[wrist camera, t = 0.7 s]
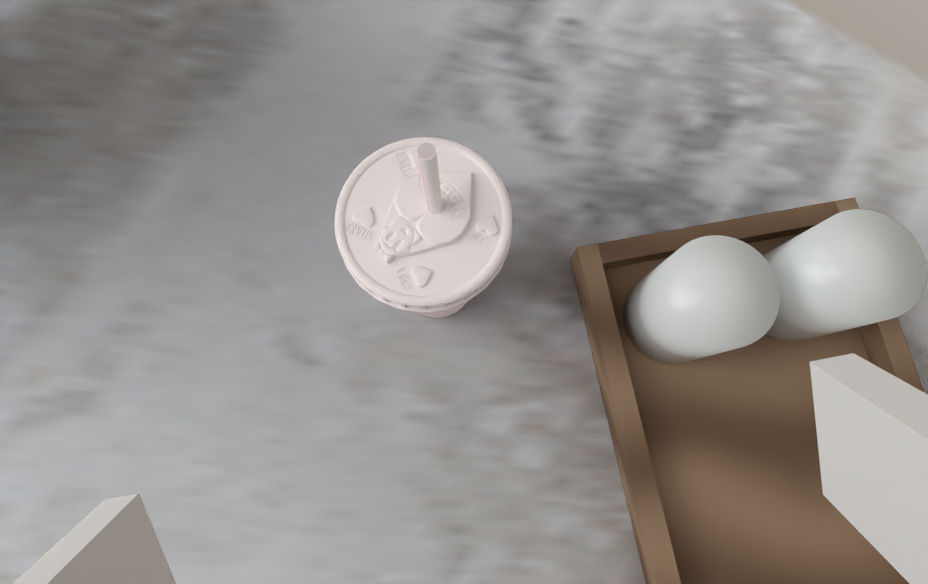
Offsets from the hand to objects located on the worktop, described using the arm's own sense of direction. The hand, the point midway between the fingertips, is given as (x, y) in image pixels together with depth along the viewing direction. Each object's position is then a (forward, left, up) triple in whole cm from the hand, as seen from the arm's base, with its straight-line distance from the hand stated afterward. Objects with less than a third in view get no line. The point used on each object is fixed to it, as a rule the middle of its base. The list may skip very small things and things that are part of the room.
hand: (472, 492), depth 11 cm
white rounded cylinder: (-4, +11, -16) cm, 20 cm away
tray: (+2, +14, -17) cm, 22 cm away
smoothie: (-8, 0, -17) cm, 19 cm away
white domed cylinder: (-4, +17, -16) cm, 24 cm away
